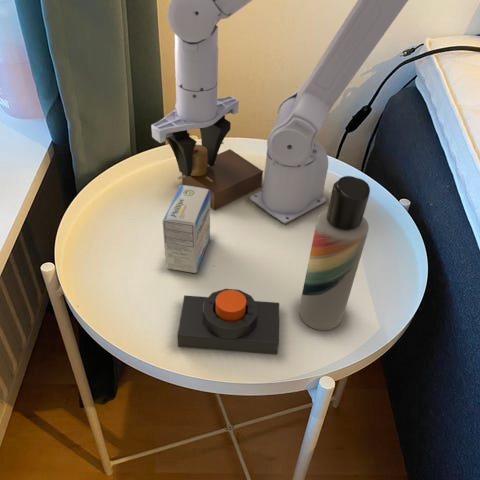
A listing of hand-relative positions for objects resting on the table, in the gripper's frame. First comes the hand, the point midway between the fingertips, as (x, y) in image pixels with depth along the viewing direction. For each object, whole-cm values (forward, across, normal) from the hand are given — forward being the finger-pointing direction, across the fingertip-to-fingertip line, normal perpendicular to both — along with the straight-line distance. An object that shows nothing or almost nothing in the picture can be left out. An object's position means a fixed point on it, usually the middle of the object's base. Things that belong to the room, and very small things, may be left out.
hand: (196, 168), depth 85 cm
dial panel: (+3, -2, +1) cm, 4 cm away
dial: (0, 0, 0) cm, 0 cm away
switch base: (+3, +16, +26) cm, 30 cm away
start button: (0, +16, +26) cm, 30 cm away
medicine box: (+4, +11, +12) cm, 16 cm away
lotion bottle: (+4, +5, +31) cm, 32 cm away
